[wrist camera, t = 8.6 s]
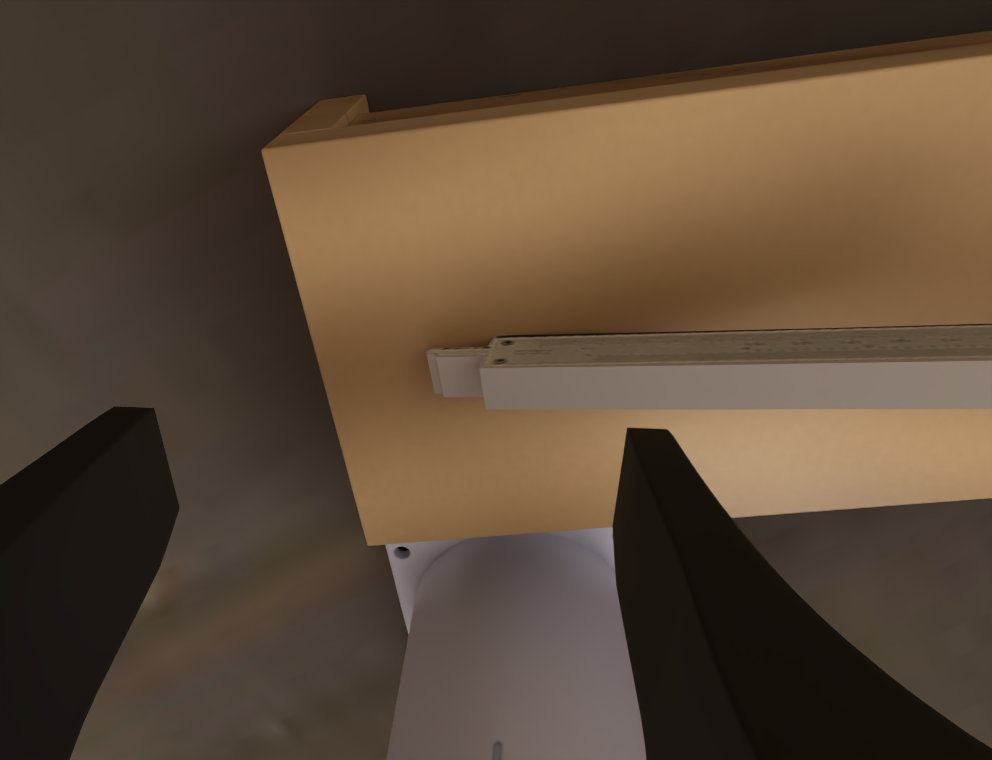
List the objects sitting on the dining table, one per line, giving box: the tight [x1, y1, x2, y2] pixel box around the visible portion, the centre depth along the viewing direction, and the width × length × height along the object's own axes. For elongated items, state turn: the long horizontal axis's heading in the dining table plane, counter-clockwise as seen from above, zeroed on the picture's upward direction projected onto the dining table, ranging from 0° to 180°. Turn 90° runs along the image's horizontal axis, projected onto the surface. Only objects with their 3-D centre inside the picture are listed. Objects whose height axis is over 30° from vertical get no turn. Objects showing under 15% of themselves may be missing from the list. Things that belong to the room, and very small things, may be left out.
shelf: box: [261, 31, 992, 546], centre depth 19 cm, size 10×26×5 cm, turn 98°
